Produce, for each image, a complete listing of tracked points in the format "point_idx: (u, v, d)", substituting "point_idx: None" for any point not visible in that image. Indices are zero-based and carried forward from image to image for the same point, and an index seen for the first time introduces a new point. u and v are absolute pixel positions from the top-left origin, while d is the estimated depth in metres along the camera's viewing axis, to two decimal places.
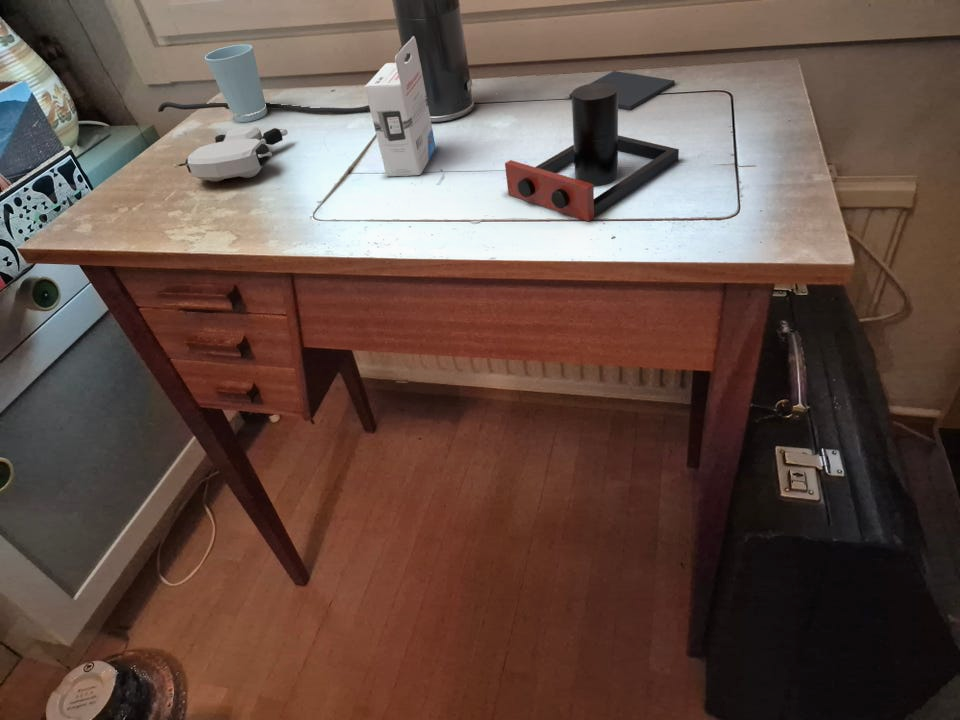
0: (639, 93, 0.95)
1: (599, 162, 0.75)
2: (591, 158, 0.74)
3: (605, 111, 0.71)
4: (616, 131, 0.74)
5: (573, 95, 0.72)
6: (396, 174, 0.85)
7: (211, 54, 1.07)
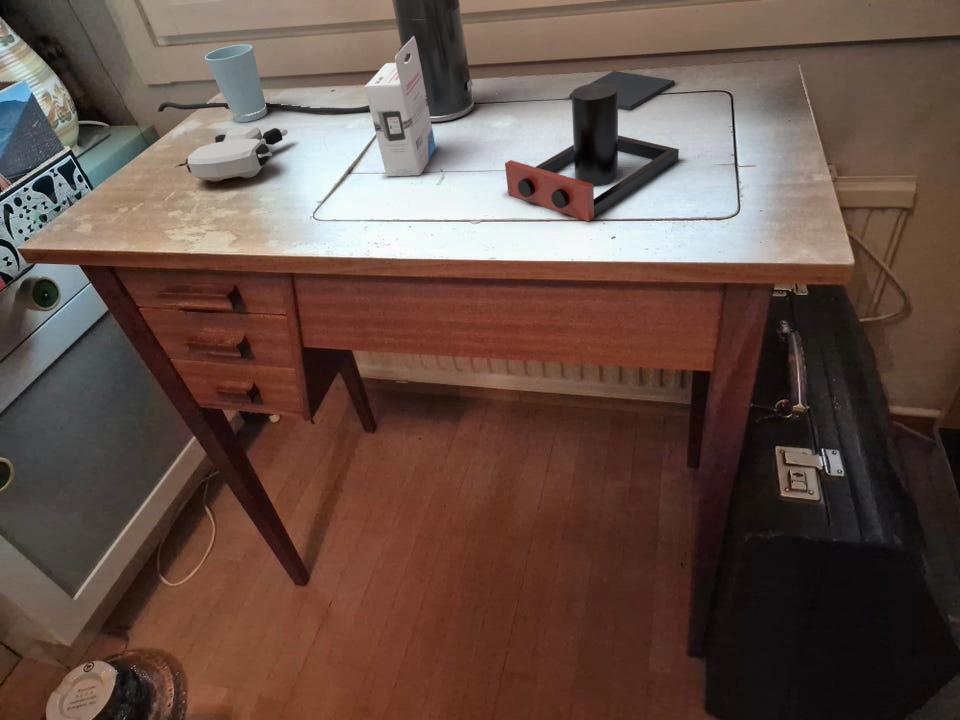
0: (639, 93, 0.95)
1: (599, 162, 0.75)
2: (591, 158, 0.74)
3: (605, 111, 0.71)
4: (616, 131, 0.74)
5: (573, 95, 0.72)
6: (396, 174, 0.85)
7: (211, 54, 1.07)
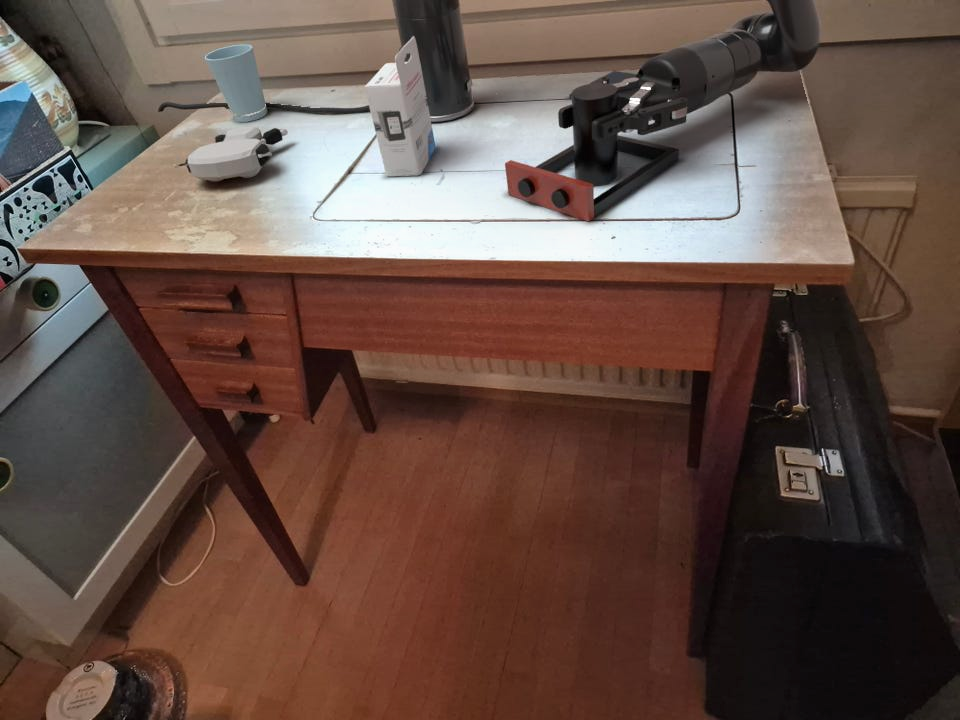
0: None
1: (599, 162, 0.75)
2: (591, 158, 0.74)
3: (605, 111, 0.71)
4: None
5: (573, 95, 0.72)
6: (396, 174, 0.85)
7: (211, 54, 1.07)
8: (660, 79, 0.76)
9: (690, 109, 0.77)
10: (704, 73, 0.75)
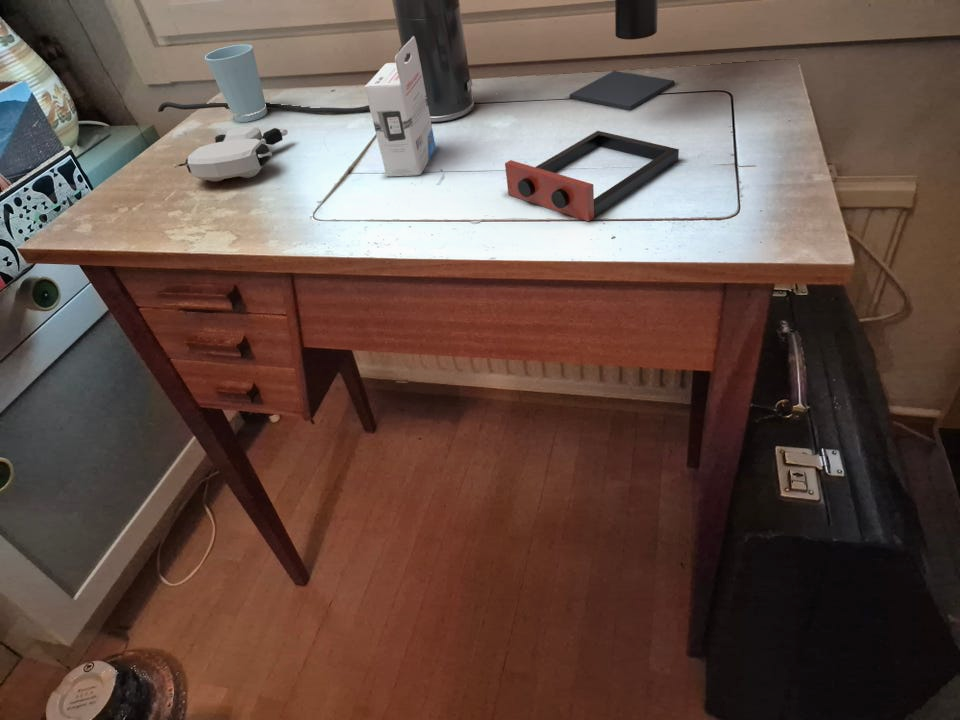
0: (639, 93, 0.95)
1: (647, 11, 0.78)
2: (640, 8, 0.77)
3: None
4: None
5: None
6: (396, 174, 0.85)
7: (211, 54, 1.07)
8: None
9: None
10: None
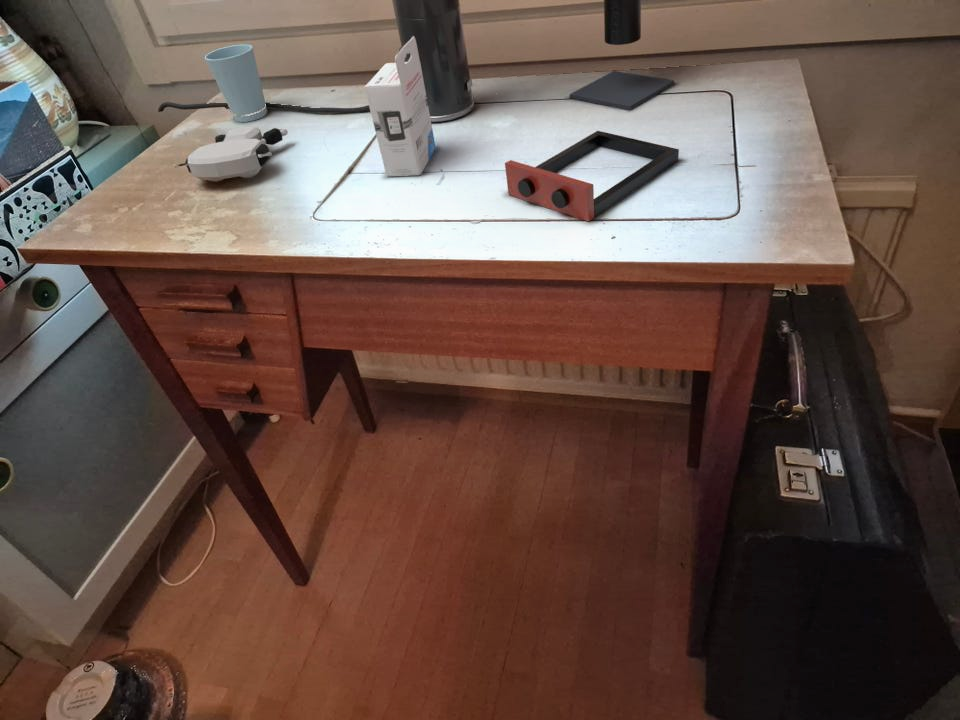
0: (639, 93, 0.95)
1: (636, 19, 0.90)
2: (632, 16, 0.89)
3: None
4: None
5: None
6: (396, 174, 0.85)
7: (211, 54, 1.07)
8: None
9: None
10: None
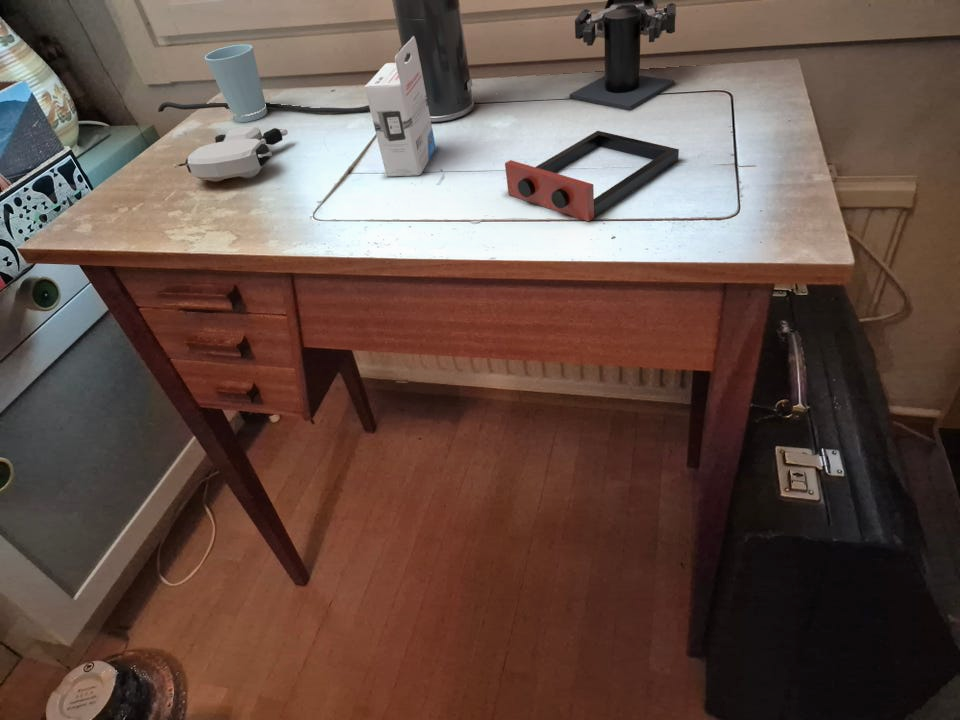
0: (639, 93, 0.95)
1: (635, 69, 0.94)
2: (631, 67, 0.94)
3: (639, 25, 0.91)
4: None
5: (613, 18, 0.90)
6: (396, 174, 0.85)
7: (211, 54, 1.07)
8: (632, 1, 0.98)
9: None
10: None
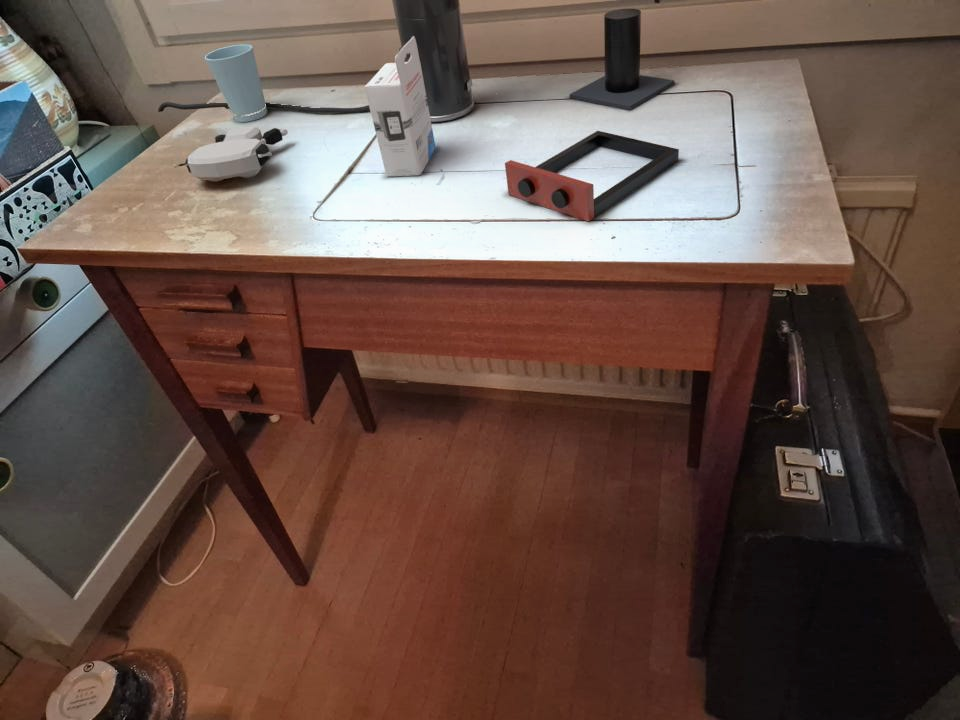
0: (639, 93, 0.95)
1: (635, 69, 0.94)
2: (631, 67, 0.94)
3: (639, 25, 0.91)
4: None
5: (613, 18, 0.90)
6: (396, 174, 0.85)
7: (211, 54, 1.07)
8: None
9: None
10: None
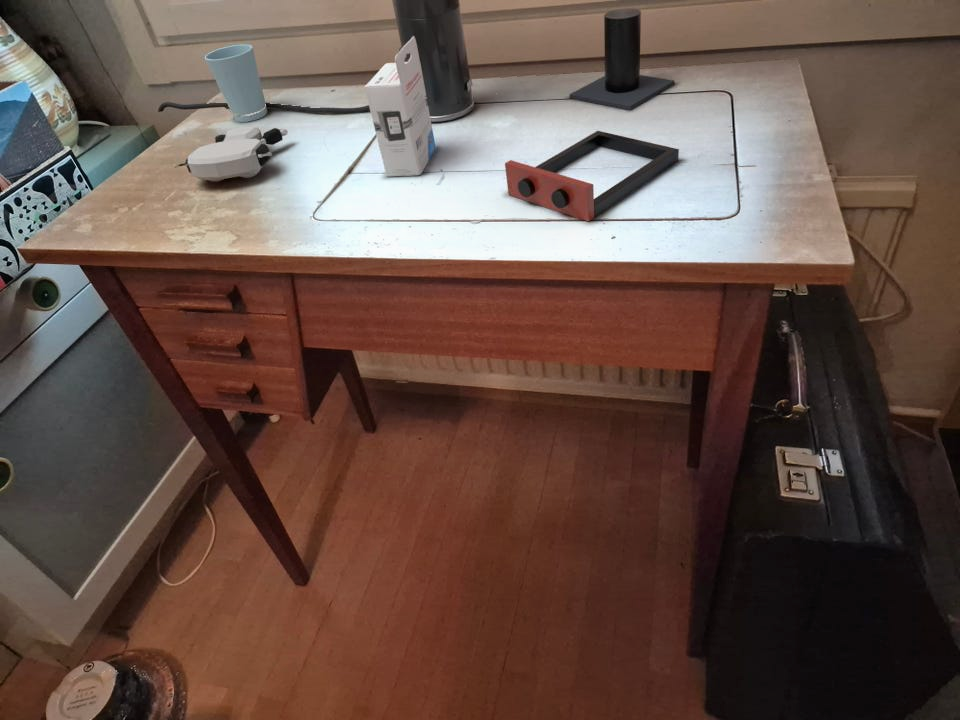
0: (639, 93, 0.95)
1: (635, 69, 0.94)
2: (631, 67, 0.94)
3: (639, 25, 0.91)
4: None
5: (613, 18, 0.90)
6: (396, 174, 0.85)
7: (211, 54, 1.07)
8: None
9: None
10: None
